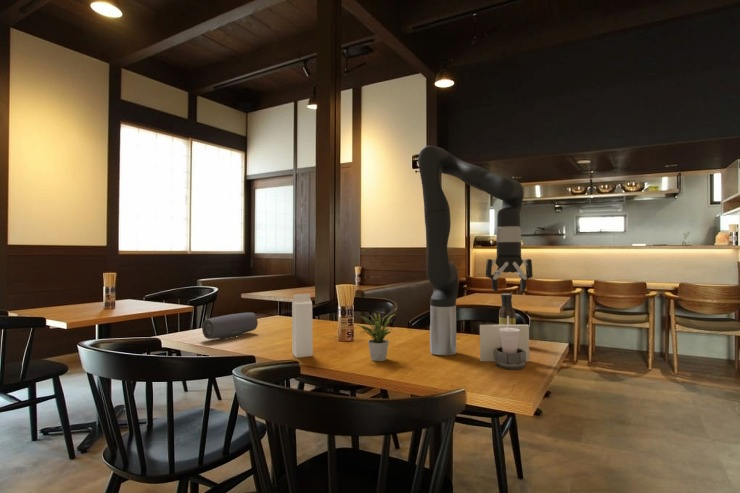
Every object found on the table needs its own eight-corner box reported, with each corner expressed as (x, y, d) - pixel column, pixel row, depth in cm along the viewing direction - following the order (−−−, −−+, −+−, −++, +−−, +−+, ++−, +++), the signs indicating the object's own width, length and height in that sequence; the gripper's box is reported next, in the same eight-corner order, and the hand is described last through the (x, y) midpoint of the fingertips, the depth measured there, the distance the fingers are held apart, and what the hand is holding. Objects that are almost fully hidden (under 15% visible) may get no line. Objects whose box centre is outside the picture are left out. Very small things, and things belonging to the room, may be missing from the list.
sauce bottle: (510, 342, 170) (510, 292, 170) (519, 345, 164) (519, 294, 164) (496, 343, 168) (495, 293, 169) (504, 346, 162) (504, 294, 162)
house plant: (379, 351, 156) (379, 307, 156) (408, 357, 146) (408, 310, 147) (351, 358, 146) (350, 311, 146) (379, 366, 136) (379, 315, 137)
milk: (312, 356, 150) (312, 294, 150) (295, 358, 148) (295, 295, 148) (308, 352, 156) (308, 292, 156) (291, 354, 153) (291, 293, 153)
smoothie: (496, 357, 138) (496, 314, 138) (515, 356, 139) (515, 314, 139) (504, 362, 132) (503, 317, 132) (523, 362, 133) (523, 317, 133)
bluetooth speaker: (245, 331, 196) (245, 310, 196) (258, 334, 191) (258, 312, 191) (201, 340, 178) (201, 317, 178) (214, 343, 172) (214, 319, 173)
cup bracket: (498, 369, 131) (498, 353, 131) (490, 361, 141) (490, 346, 141) (528, 370, 131) (528, 353, 131) (518, 361, 141) (518, 346, 141)
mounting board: (480, 361, 141) (480, 325, 142) (480, 360, 143) (479, 324, 143) (529, 361, 141) (528, 325, 141) (528, 360, 142) (527, 324, 142)
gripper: (489, 241, 132) (489, 292, 132) (535, 240, 132) (535, 292, 132) (483, 241, 140) (484, 290, 140) (527, 241, 139) (527, 290, 139)
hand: (509, 291), depth 136 cm, fingers open, 8 cm apart
